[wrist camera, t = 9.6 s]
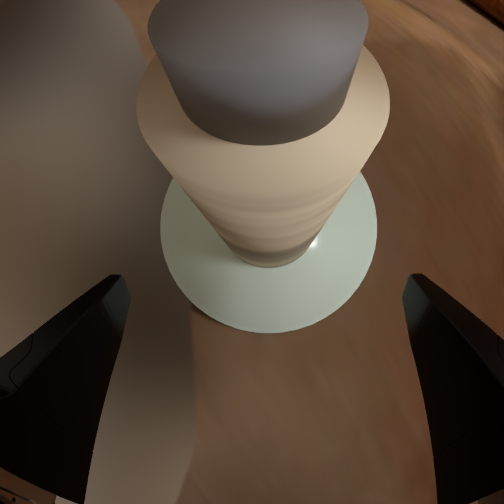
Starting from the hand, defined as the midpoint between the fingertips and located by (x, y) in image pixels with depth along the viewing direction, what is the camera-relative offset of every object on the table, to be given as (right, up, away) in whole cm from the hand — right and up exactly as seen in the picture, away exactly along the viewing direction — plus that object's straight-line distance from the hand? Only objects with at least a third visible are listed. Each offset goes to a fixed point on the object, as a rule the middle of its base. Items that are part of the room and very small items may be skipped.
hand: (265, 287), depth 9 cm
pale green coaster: (+1, +3, +9) cm, 10 cm away
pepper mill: (+1, +3, +8) cm, 9 cm away
